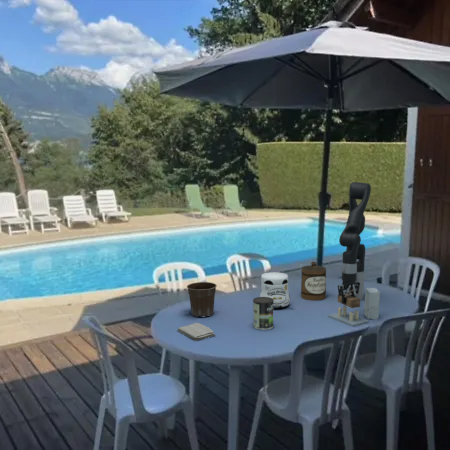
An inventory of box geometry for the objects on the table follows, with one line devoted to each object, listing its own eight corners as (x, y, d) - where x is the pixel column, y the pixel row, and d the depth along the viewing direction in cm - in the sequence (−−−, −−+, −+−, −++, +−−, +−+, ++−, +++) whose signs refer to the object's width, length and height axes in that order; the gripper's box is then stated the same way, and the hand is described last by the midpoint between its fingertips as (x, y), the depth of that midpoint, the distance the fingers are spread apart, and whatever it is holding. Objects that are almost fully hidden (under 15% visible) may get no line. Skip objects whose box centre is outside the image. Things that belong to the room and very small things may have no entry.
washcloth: (196, 342, 231) (196, 336, 230) (176, 331, 245) (176, 326, 245) (216, 337, 238) (216, 330, 237) (196, 326, 252) (196, 320, 252)
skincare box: (363, 314, 267) (364, 287, 265) (374, 313, 267) (375, 287, 264) (368, 319, 258) (368, 291, 256) (379, 319, 258) (380, 291, 256)
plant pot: (181, 314, 270) (180, 286, 268) (202, 307, 282) (201, 280, 279) (202, 321, 259) (201, 291, 257) (223, 313, 271) (222, 285, 268)
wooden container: (306, 301, 290) (307, 265, 287) (297, 294, 304) (297, 259, 301) (330, 299, 294) (330, 263, 290) (319, 292, 308) (320, 258, 305)
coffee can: (276, 325, 252) (277, 298, 250) (267, 331, 243) (267, 303, 241) (259, 321, 257) (259, 295, 255) (249, 327, 248) (249, 300, 246)
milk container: (275, 312, 271) (275, 281, 268) (253, 305, 284) (253, 275, 281) (296, 306, 282) (296, 275, 280) (274, 299, 295) (274, 270, 292)
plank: (337, 301, 261) (337, 294, 261) (345, 300, 263) (345, 293, 263) (351, 308, 250) (351, 300, 250) (360, 306, 252) (360, 299, 252)
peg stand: (328, 316, 263) (328, 306, 262) (343, 313, 269) (343, 303, 268) (352, 326, 248) (353, 316, 247) (368, 322, 253) (368, 312, 252)
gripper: (344, 274, 247) (343, 307, 250) (364, 270, 255) (363, 302, 257) (333, 271, 254) (333, 303, 256) (353, 268, 261) (353, 298, 264)
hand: (348, 302), depth 257 cm, fingers closed on plank, 5 cm apart
